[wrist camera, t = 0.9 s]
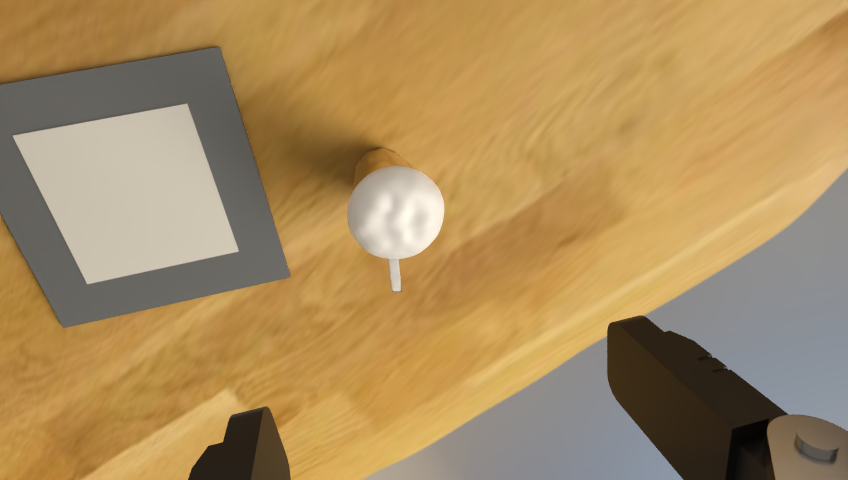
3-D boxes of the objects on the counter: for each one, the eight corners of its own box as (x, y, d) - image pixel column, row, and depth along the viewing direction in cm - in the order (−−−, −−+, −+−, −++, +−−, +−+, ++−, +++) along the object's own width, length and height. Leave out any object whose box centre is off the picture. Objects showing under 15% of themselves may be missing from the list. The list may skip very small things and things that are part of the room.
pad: (219, 46, 26) (218, 46, 25) (290, 275, 31) (289, 277, 31) (-60, 95, 24) (-66, 95, 24) (65, 325, 30) (62, 328, 29)
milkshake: (341, 219, 30) (345, 292, 21) (345, 134, 28) (351, 173, 19) (412, 222, 31) (445, 292, 22) (420, 139, 29) (459, 180, 20)
